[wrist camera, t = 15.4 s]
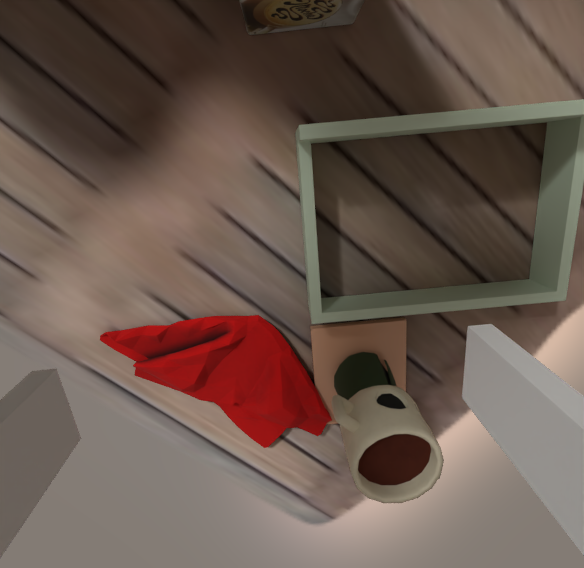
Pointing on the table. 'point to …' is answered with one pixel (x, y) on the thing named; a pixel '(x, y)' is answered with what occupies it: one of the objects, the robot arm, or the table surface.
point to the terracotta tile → (356, 351)
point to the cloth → (229, 371)
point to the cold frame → (537, 289)
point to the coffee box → (297, 14)
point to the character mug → (383, 432)
